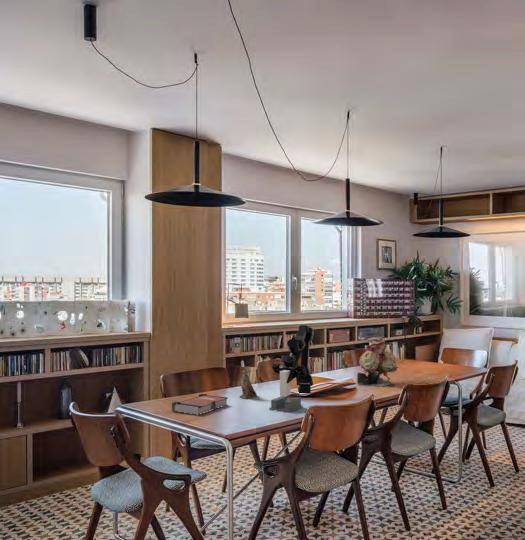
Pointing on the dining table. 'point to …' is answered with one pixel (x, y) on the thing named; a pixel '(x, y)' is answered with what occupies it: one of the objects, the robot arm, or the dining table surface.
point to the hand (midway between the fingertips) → (283, 382)
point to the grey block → (284, 383)
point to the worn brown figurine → (247, 387)
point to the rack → (285, 404)
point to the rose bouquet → (376, 364)
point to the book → (199, 404)
